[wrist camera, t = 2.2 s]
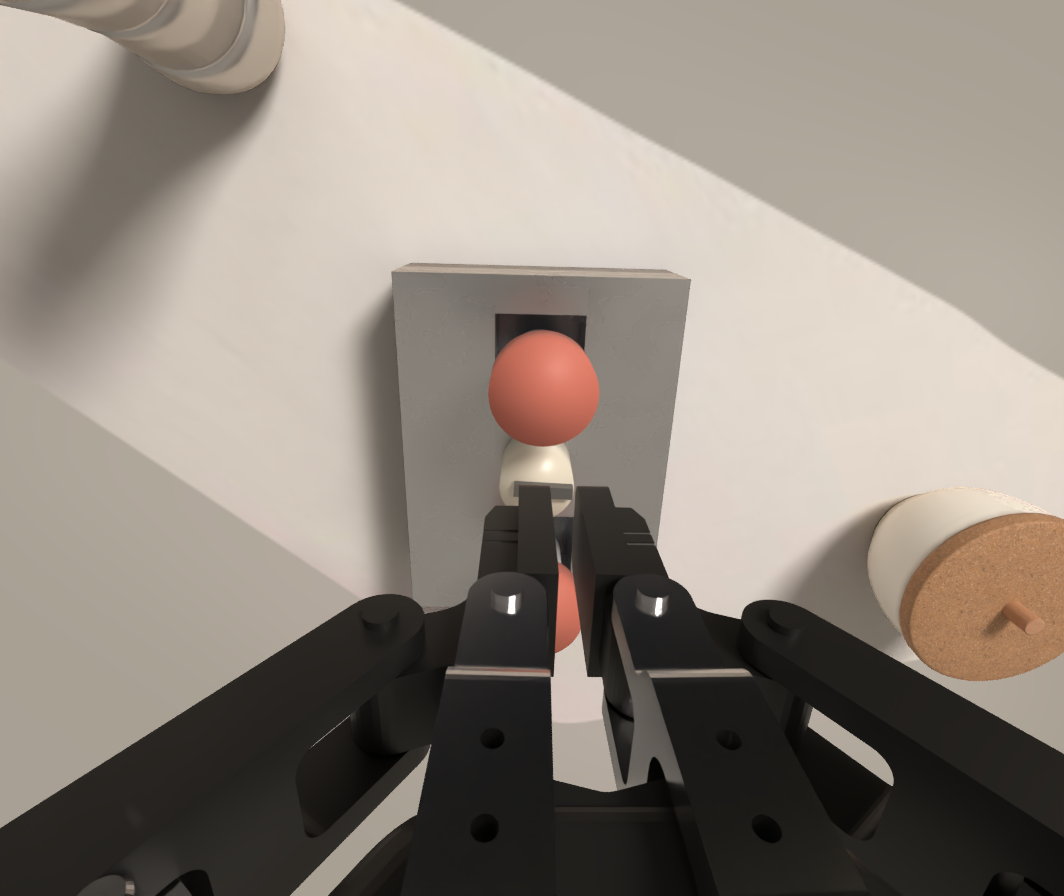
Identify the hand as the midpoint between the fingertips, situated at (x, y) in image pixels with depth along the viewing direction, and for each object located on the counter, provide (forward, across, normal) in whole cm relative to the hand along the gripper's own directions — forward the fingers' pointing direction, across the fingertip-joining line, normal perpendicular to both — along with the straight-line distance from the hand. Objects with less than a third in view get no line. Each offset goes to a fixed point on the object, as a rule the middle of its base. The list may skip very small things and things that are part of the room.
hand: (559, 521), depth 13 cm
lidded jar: (+21, -26, +12) cm, 36 cm away
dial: (+16, 0, +6) cm, 17 cm away
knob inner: (+16, 0, 0) cm, 16 cm away
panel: (+21, 0, +6) cm, 22 cm away
